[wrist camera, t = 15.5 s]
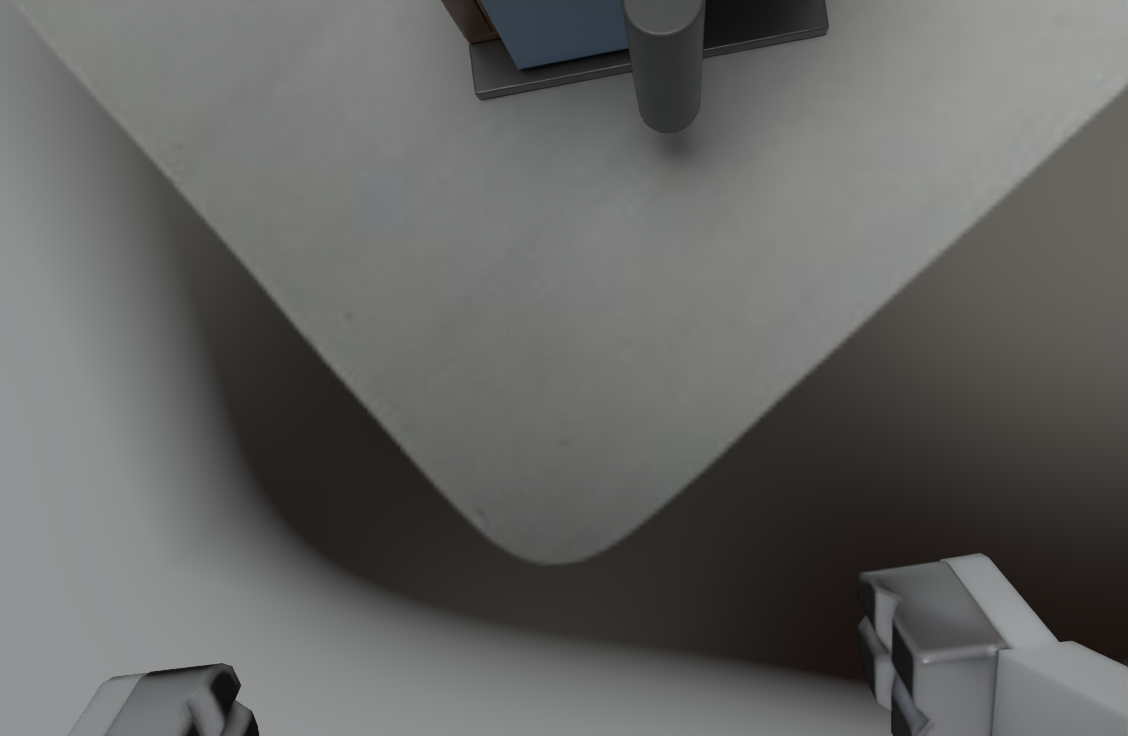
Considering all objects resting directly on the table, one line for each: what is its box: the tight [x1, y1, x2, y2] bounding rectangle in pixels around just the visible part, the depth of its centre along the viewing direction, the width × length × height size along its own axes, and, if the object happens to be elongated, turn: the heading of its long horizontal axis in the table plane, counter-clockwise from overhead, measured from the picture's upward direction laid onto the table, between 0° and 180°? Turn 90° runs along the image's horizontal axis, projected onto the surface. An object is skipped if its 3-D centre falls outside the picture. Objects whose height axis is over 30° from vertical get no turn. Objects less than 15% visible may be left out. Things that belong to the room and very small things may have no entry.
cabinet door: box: [481, 0, 706, 133], centre depth 21 cm, size 5×6×13 cm
